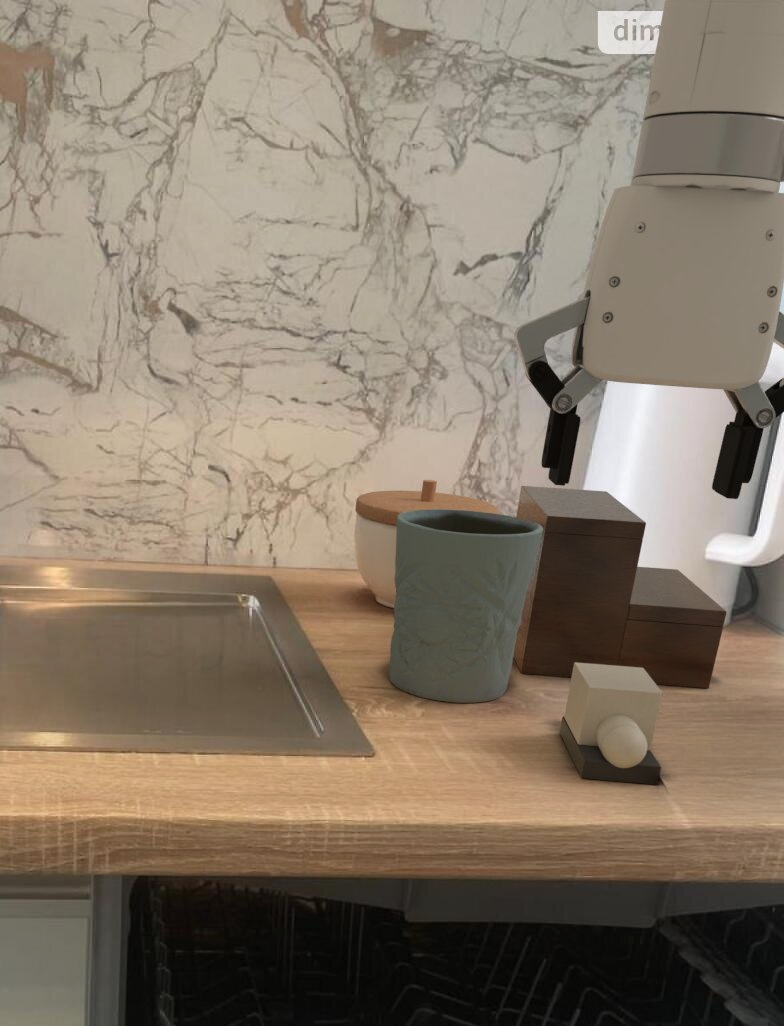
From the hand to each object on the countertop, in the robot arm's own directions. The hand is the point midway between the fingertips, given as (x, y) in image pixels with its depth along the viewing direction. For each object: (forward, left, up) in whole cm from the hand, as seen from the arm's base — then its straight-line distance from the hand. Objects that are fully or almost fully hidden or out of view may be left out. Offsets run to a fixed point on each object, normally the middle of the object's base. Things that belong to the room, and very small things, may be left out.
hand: (640, 488), depth 71 cm
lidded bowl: (+9, -35, -17) cm, 40 cm away
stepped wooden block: (-5, -22, -17) cm, 28 cm away
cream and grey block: (-1, +2, -17) cm, 17 cm away
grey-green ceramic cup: (+8, -11, -17) cm, 22 cm away
